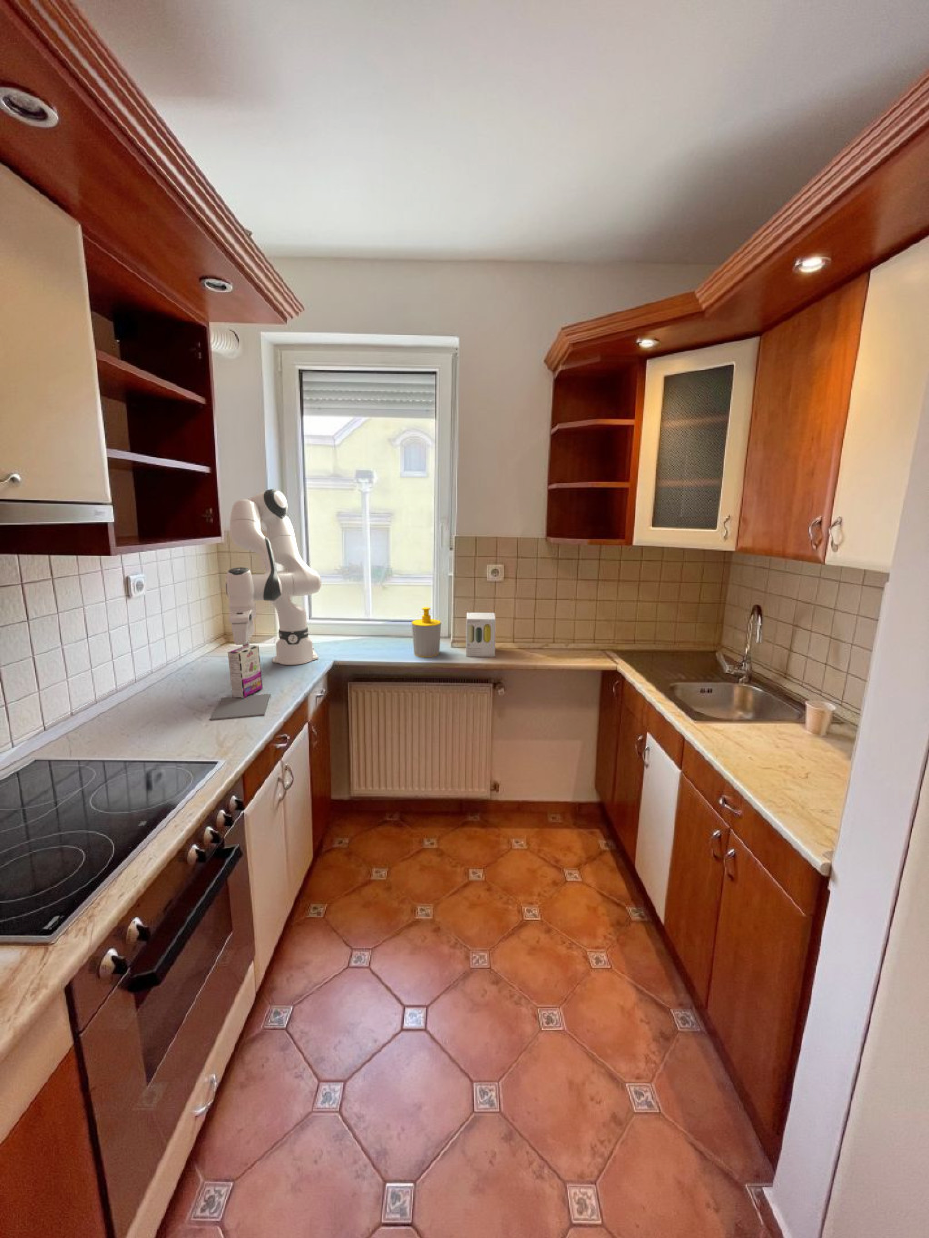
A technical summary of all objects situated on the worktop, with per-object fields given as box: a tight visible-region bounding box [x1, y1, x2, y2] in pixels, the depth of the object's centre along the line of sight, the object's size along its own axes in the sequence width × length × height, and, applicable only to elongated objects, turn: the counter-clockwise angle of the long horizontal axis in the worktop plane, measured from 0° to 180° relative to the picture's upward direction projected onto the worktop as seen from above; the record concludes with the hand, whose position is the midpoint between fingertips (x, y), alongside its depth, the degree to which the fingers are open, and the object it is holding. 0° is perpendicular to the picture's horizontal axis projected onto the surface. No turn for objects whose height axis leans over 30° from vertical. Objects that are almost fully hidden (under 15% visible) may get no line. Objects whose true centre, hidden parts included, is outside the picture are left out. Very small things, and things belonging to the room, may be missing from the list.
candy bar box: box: [227, 644, 263, 698], centre depth 177 cm, size 11×5×16 cm, turn 168°
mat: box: [209, 693, 271, 721], centre depth 167 cm, size 18×16×1 cm
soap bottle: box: [411, 606, 442, 658], centre depth 226 cm, size 13×13×21 cm
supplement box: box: [465, 612, 496, 658], centre depth 228 cm, size 13×13×18 cm
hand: (246, 650), depth 182 cm, fingers closed, pressing on candy bar box
